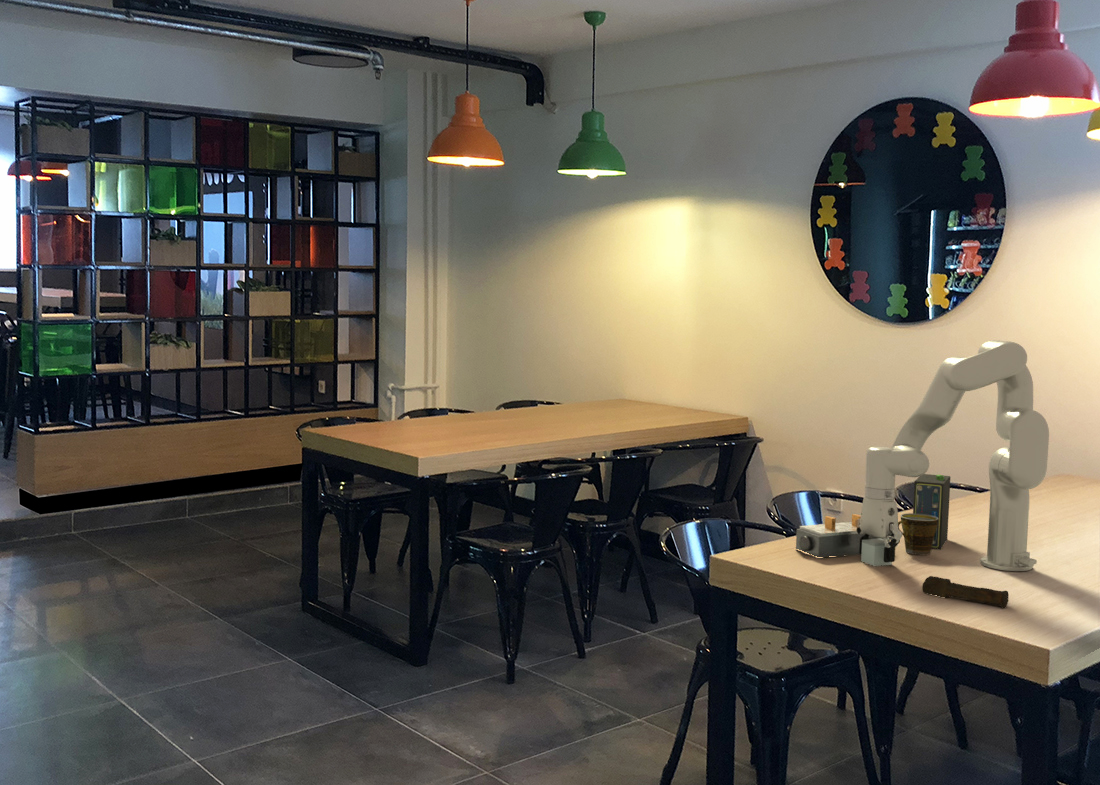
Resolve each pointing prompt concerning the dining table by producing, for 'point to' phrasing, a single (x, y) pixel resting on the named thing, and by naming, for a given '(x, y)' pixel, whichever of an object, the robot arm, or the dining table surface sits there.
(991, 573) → the dining table surface
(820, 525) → the grey toaster
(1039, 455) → the robot arm
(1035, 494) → the dining table surface
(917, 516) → the ceramic cup
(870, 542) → the pale grey cube
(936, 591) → the dark brown flashlight
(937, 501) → the dark grey box
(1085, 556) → the dining table surface
